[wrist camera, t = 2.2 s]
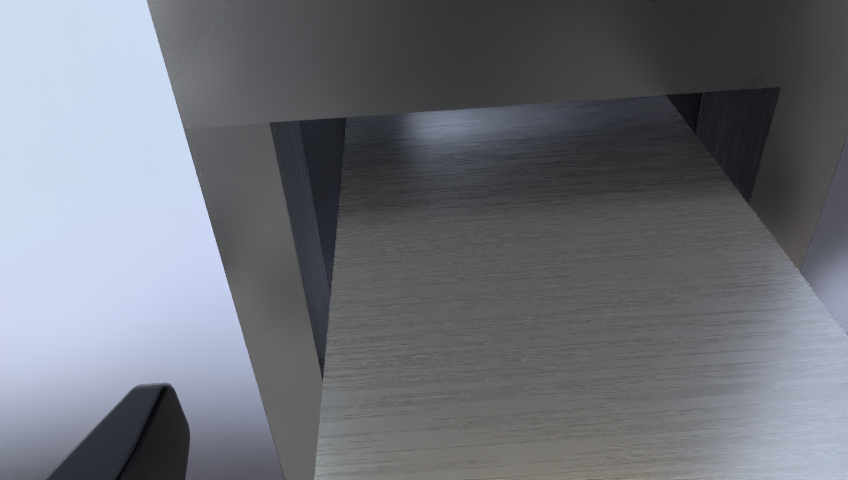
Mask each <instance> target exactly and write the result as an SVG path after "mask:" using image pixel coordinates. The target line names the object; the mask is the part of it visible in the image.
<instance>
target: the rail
mask: <svg viewBox="0 0 848 480" xmlns="http://www.w3.org/2000/svg"><path fill="white" fill-rule="evenodd" d="M147 3H148V6H149V10H150V13H151V17H152V20H153V24H154V27H155V31H156V34H157V37H158V41H159V44H160V48H161V51H162V55H163V58H164V62H165V65H166V69H167V72H168V76H169V79H170V83H171V86H172V90H173V93H174V96H175V100H176V103H177V107H178V110H179V114H180V117H181V121H182V124H183V128H184V131H185V135H186V138H187V142H188V145H189V149H190V152H191V155H192V159H193V162H194V166H195V169H196V173H197V176H198V180H199V183H200V187H201V190H202V194H203V197H204V201H205V204H206V208H207V211H208V214H209V218H210V221H211V225H212V228H213V232H214V235H215V239H216V242H217V246H218V249H219V253H220V256H221V260H222V263H223V267H224V270H225V273H226V277H227V280H228V284H229V287H230V291H231V294H232V298H233V301H234V305H235V308H236V312H237V315H238V319H239V322H240V326H241V329H242V332H243V336H244V339H245V343H246V346H247V350H248V353H249V357H250V360H251V364H252V367H253V371H254V374H255V378H256V381H257V385H258V388H259V391H260V395H261V398H262V402H263V405H264V409H265V412H266V416H267V419H268V423H269V426H270V430H271V433H272V437H273V440H274V444H275V447H276V450H277V454H278V457H279V461H280V464H281V468H282V471H283V475H284V478H285V480H314V478H315V466H316V455H317V444H318V433H319V422H320V411H321V399H322V388H323V377H324V366H325V355H326V343H327V332H328V321H329V310H330V299H331V297H330V291H329V285H328V280H327V274H326V268H325V263H324V257H323V251H322V246H321V240H320V234H319V229H318V223H317V217H316V212H315V206H314V201H313V195H312V189H311V184H310V178H309V172H308V167H307V161H306V155H305V150H304V144H303V138H302V133H301V127H300V121H299V120H314V119H328V118H342V117H356V116H371V115H385V114H399V113H414V112H428V111H442V110H457V109H471V108H485V107H499V106H514V105H528V104H542V103H557V102H571V101H585V100H599V99H614V98H628V97H642V96H657V95H671V94H685V93H700V92H703V94H702V99H701V104H700V109H699V114H698V119H697V124H696V129H695V134H696V136H697V137H698V138H699V140H700V141H701V142H702V144H703V145H704V146H705V148H706V149H707V150H708V152H709V153H710V154H711V156H712V157H713V158H714V160H715V161H716V162H717V164H718V165H719V166H720V168H721V169H722V170H723V171H724V173H725V174H726V175H727V177H728V178H729V179H730V181H731V182H732V183H733V185H734V186H735V187H736V189H737V190H738V191H739V193H740V194H741V195H742V197H743V198H744V199H745V201H746V202H747V203H748V204H749V206H750V207H751V208H752V210H753V211H754V212H755V214H756V215H757V216H758V218H759V219H760V220H761V222H762V223H763V224H764V226H765V227H766V228H767V230H768V231H769V232H770V234H771V235H772V236H773V237H774V239H775V240H776V241H777V243H778V244H779V245H780V247H781V248H782V249H783V251H784V252H785V253H786V255H787V256H788V257H789V259H790V260H791V261H792V263H793V264H794V265H795V267H796V268H797V269H798V271H799V272H800V270H801V267H802V264H803V261H804V258H805V255H806V253H807V250H808V247H809V244H810V241H811V238H812V235H813V232H814V229H815V227H816V224H817V221H818V218H819V215H820V212H821V209H822V206H823V203H824V201H825V198H826V195H827V192H828V189H829V186H830V183H831V180H832V177H833V175H834V172H835V169H836V166H837V163H838V160H839V157H840V154H841V151H842V149H843V146H844V143H845V140H846V137H847V134H848V0H147Z"/></svg>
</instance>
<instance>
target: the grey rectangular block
mask: <svg viewBox="0 0 848 480" xmlns="http://www.w3.org/2000/svg"><path fill="white" fill-rule="evenodd" d="M314 480H848V335H847V334H846V333H845V331H844V330H843V329H842V327H841V326H840V325H839V323H838V322H837V321H836V319H835V318H834V317H833V315H832V314H831V313H830V311H829V310H828V309H827V307H826V306H825V305H824V304H823V302H822V301H821V300H820V298H819V297H818V296H817V294H816V293H815V292H814V290H813V289H812V288H811V286H810V285H809V284H808V282H807V281H806V280H805V278H804V277H803V276H802V274H801V273H800V272H799V271H798V269H797V268H796V267H795V265H794V264H793V263H792V261H791V260H790V259H789V257H788V256H787V255H786V253H785V252H784V251H783V249H782V248H781V247H780V245H779V244H778V243H777V241H776V240H775V239H774V237H773V236H772V235H771V234H770V232H769V231H768V230H767V228H766V227H765V226H764V224H763V223H762V222H761V220H760V219H759V218H758V216H757V215H756V214H755V212H754V211H753V210H752V208H751V207H750V206H749V204H748V203H747V202H746V201H745V199H744V198H743V197H742V195H741V194H740V193H739V191H738V190H737V189H736V187H735V186H734V185H733V183H732V182H731V181H730V179H729V178H728V177H727V175H726V174H725V173H724V171H723V170H722V169H721V168H720V166H719V165H718V164H717V162H716V161H715V160H714V158H713V157H712V156H711V154H710V153H709V152H708V150H707V149H706V148H705V146H704V145H703V144H702V142H701V141H700V140H699V138H698V137H697V136H696V134H695V133H694V132H693V131H692V129H691V128H690V127H689V125H688V124H687V123H686V121H685V120H684V119H683V117H682V116H681V115H680V113H679V112H678V111H677V109H676V108H675V107H674V105H673V104H672V103H671V101H670V100H669V99H668V98H667V96H666V95H657V96H642V97H628V98H614V99H599V100H585V101H571V102H557V103H542V104H528V105H514V106H499V107H485V108H471V109H457V110H442V111H428V112H414V113H399V114H385V115H371V116H356V117H347V120H346V131H345V142H344V153H343V165H342V176H341V187H340V198H339V209H338V221H337V232H336V243H335V254H334V265H333V276H332V288H331V299H330V310H329V321H328V332H327V343H326V355H325V366H324V377H323V388H322V399H321V411H320V422H319V433H318V444H317V455H316V466H315V478H314Z"/></svg>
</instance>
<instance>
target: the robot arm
mask: <svg viewBox="0 0 848 480" xmlns="http://www.w3.org/2000/svg"><path fill="white" fill-rule="evenodd" d="M189 446H190V430H189V425H188V422H187V420H186V417H185V414H184V412H183V409H182V407H181V404H180V402H179V399H178V397H177V394H176V392H175V390H174V388H173V386H172V385H170V384H169V383H154V384H141V385H138V386H136V387H134V388H133V389H132V390H130V391H129V392H128V393H127V395H126V396H125V397H124V398H123V399H122V400H121V401H120V402H119V403H118V404H117V405H116V406H115V407H114V408H113V409H112V410H111V411H110V412H109V413H108V414H107V415H106V416H105V417H104V418H103V419H102V420H101V421H100V422H99V423H98V425H97V426H96V427H95V428H94V429H93V430H92V431H91V432H90V433H89V434H88V435H87V436H86V437H85V438H84V439H83V440H82V441H81V442H80V443H79V444H78V445H77V446H76V447H75V448H74V449H73V450H72V451H71V452H70V454H69V455H68V456H67V457H66V458H65V459H64V460H63V461H62V462H61V463H60V464H59V465H58V466H57V467H56V468H55V469H54V470H53V471H52V472H51V473H50V474H49V475H48V476H47V477H46V478H45V479H44V480H185V478H186V470H187V462H188V454H189Z"/></svg>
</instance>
